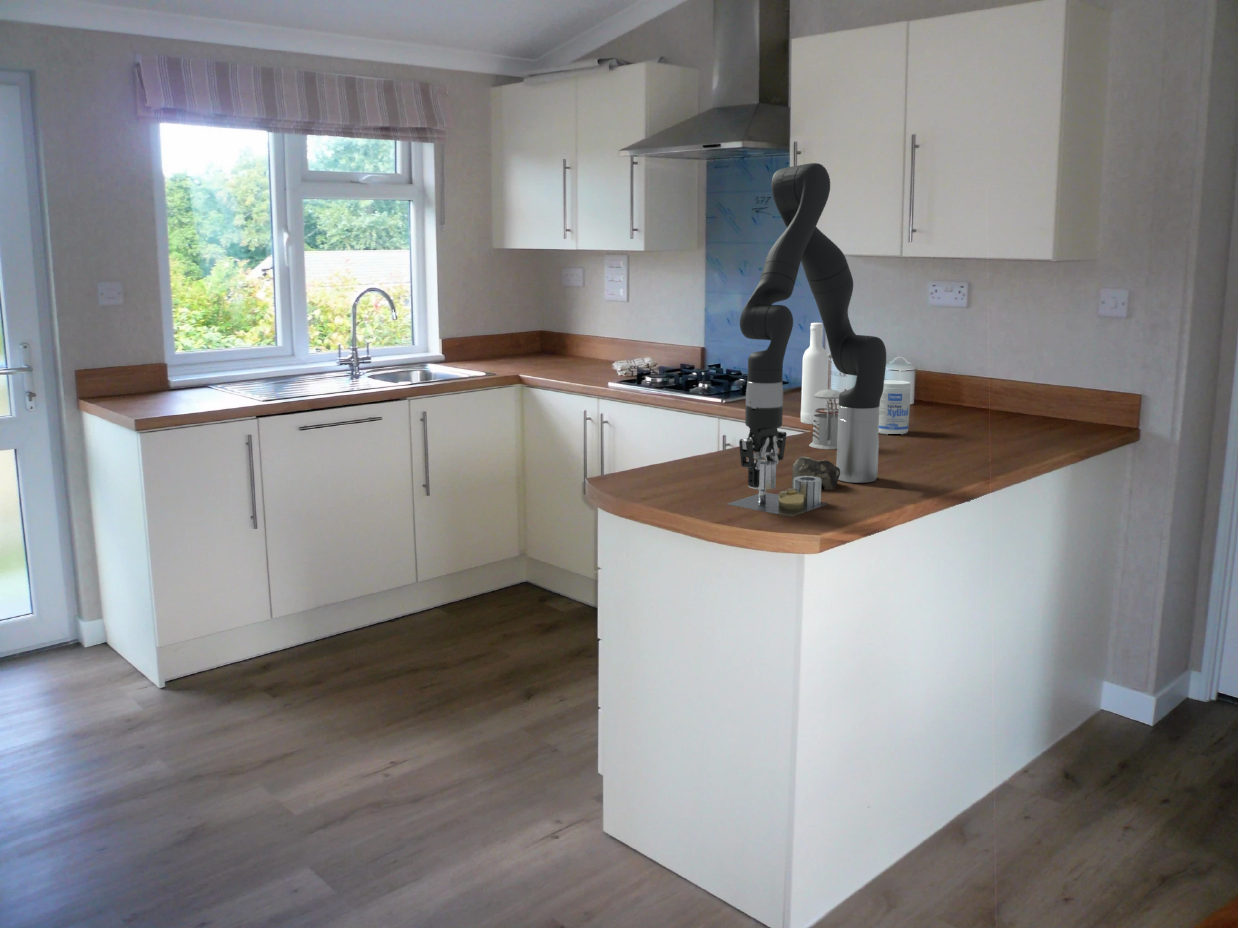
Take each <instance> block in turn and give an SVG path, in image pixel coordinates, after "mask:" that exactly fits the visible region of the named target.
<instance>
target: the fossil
mask: <svg viewBox="0 0 1238 928" xmlns="http://www.w3.org/2000/svg"><path fill="white" fill-rule="evenodd" d="M791 476H792V477H791V478H792V479H791V488H792V489H793V488H794V478H795V477H799V476H814V477H818V478H821V486H822V487H823V490H824V491H827V490H828V491H829V490H830V491H831V490H835V489H836V488H837V484H838V482H839V480H838V479H839V476H840V469H839V468H838V467H836V465H835V464H833V463H832V462H831V461H829V460H828V459H822V460H816V459H812V458H811V457H808V456H800V457H797V458H796V459H795V462H794V463H793V464H792V475H791Z"/></svg>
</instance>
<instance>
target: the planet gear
mask: <svg viewBox="0 0 1238 928" xmlns="http://www.w3.org/2000/svg"><path fill="white" fill-rule="evenodd" d="M755 462H756V459H754V463H755ZM758 470H760V473H759V487H756V488H754V487H750V486H749V485H748V486H747V487H748V488H750V489H754V490H759V489H763V490H764V489H765V490H766V491H767V490H772V489H776V485H777V484H776V481H777V465H776V462H774V461H768V460H765V459H762V460H761V463H760V467H759V469H758Z"/></svg>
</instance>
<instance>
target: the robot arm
mask: <svg viewBox="0 0 1238 928" xmlns="http://www.w3.org/2000/svg"><path fill="white" fill-rule="evenodd" d="M770 188H771V194H772V198H773V200H774V204H775V206H776V208H777V210H778V211H777V212H778V213H779V215H780V217H781V219H782V221H783V222H784V223H783V224H784V225H785V227H786V229H785V230H784V232H782V233H781V235H780V236H779V237H778V238H777V239H776V241H775V243H774V244H773V245H772V246H771V248H770V250H769V251H768V253H767V254H766V258H765V261H764V264H763V267H762V268H763V269H762V271H761V274H760V278H759V282H758V284H757V286H755V288H754V291H753V292H752V294H751V296H750V297H749V299H748V301H747V302H746V304H745V305H744V306H743V308H742V311H741V313H740V318H739V328H740V329H739V330H740V332H741V334H742V335H743V336H744V337H745V338H747V339H749V340H761V341H763V340H764V341H765V340H766V341H770V342H769V345H768V347H767V348H766V349H765V350H760V351H755V352H751V353H750V355H748V359H747V383H746V389H745V391H746V392H745V420H744V422H745V426H746V427H748V428H749V433H748V435H747V438H740V439H739V455H740V465H741V467H742V468H746V469H747V470H748V473H747V475H748V476H747V484H748V485H749V486H750V487H754V488H756V487H759V473H760V470H758V469H759V467H760V463H761V460H768V461H774V462H776V466H777V465H779V461H783V459H784V455H785V448H786V443H787V435H788V433H787V431H780V430H778V428H781V427H782V425H783V416H784V415H783V413H784V412H783V411H784V410H783V409H784V408H783V407H784V389H783V374H784V373H783V371H784V370H783V369H784V367H783V366H784V365H783V364H784V359H785V356H786V355H785V354H786V350H787V346H788V343H789V339H790V337H791V334H792V331H793V327H794V317H793V316H794V315H793V313H792V311H791V309H790V308H789V307H787V306H786V305H782V304H775V303H779V302H783V301H786V300H788V299H790V297H791V296H792V294H793V292H794V288H795V284H796V280H797V276H798V273H799V271H800V270H799V269H800V267H801V266H800V265H802V268H803V271H804V274H805V277H806V279H807V283H808V285H809V288H810V291H811V293H812V297H813V298H814V301H815V304H816V306H817V309H818V312H819V316H820V318H821V322H822V324H823V329H824V331H825V335H826V340H827V342H828V347H829V351H830V352H829V353H831V356H832V358H831V360H832V362H833V364H834V367H836V369H837V371H838V372H840V373H842V374H844V375H849V376H855V378H856V379H855V384H854V386H853V387H852V388H850V389H846V390H844V391H840V392H841V393H840V395H839V399H838V407H837V409H838V413H837V414H838V435H837V449H836V460H835V461H836V462H835V463H836V464H835V466H836V467H838V468H839V469H840V476H839V479H838V481H841V482H846V483H857V484H858V483H860V484H861V483H862V484H863V483H864V484H865V483H871V482H875V481H876V480H877V477H878V470H879V469H878V468H879V467H878V465H879V449H880V447H879V446H880V439H879V433H878V432H879V408H880V399H881V396H882V393H883V389H884V380H885V377H886V369H887V368H886V367H887V349H886V346H885V343H884V341H883V339H881V338H880V337H879V336H878V337H877V336H874V335H863V334H856V333H855V332H854V330H853V327H852V325H851V322H850V317H849V311H848V310H849V307H850V303H851V301H852V297H853V291H854V279H853V275H852V272H851V270H850V267H849V263H848V260H847V258H846V255H845V254H844V252H843V251H842V250H841V249H840V248H839V247H838V246H837V244H836V243H834V242H833V241H832V240H831V239H830V238H829V237H828V236H827V235H826V234H824V232H822V231H821V230H820V229H819V228H818V227H817V224H818V222H819V220H820V218H821V216H822V213H823V211H824V209H825V207H826V205H827V202H828V199H829V196H830V191H831V178H830V175H829V172H828V170H827V169H826V168H825V166H824V165H822V164H821V163H817V162H814V163H813V162H811V163H804V164H800V165H799V164H798V165H794V166H792V165H791V166H788V167H783V168H780V169H777V170H776V171H775V172H774V173H773V176H772V178H771V187H770ZM754 460H756V462H755V463H754ZM750 487H749V488H750Z"/></svg>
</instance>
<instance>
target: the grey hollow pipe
mask: <svg viewBox="0 0 1238 928" xmlns="http://www.w3.org/2000/svg"><path fill="white" fill-rule="evenodd" d="M792 489H796V490H797V491H799V492H803V493H804V505H805V506H806V505H807V506H813V505H818V504H820V503H821V502H822V501H821V500H822V485H821V478H818V477H814V476H799V477H795V478H794V488H793V487H792Z"/></svg>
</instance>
